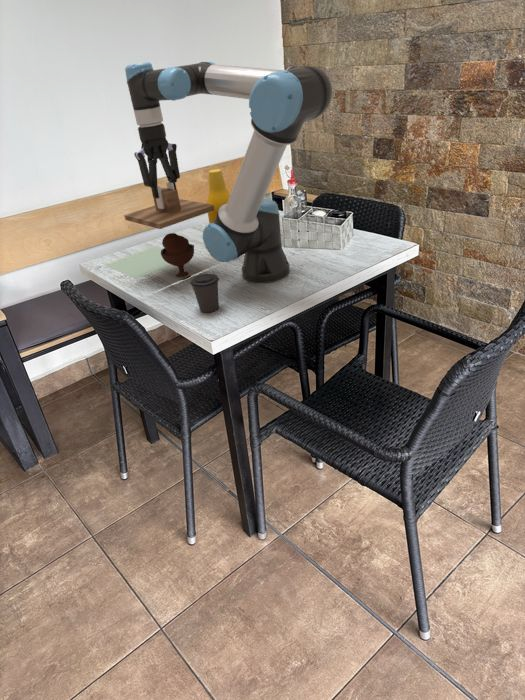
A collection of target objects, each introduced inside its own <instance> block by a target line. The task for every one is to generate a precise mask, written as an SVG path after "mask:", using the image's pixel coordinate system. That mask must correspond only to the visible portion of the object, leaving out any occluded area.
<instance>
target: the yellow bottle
mask: <svg viewBox="0 0 525 700" xmlns="http://www.w3.org/2000/svg"><path fill="white" fill-rule="evenodd" d="M208 185H209V186H208V187H209V190H208V195H207V199H206V204H210V205H214V210H213V211H210V212H207V217H208V224H210V223H213V222H214V221H215V219H216V216H217V214H218V211H219V209H220V207H221V206H222V205H224V204H227V203H228V200H229V197H230V195H231V193H229V191H228V189H227V187H226V184H225V179H224V176H223V172H222V169H220V168H217V169H211V170H209V171H208Z"/></svg>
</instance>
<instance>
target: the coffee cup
mask: <svg viewBox="0 0 525 700" xmlns="http://www.w3.org/2000/svg"><path fill="white" fill-rule="evenodd" d="M219 280H220V277H219V276H218V275H216V274H215V273H202V274H199V275H196V276H194V277H192V278H191V280H190V282H189V284H190V285H191V286H192V289H193V292H194V295H195V297H196V298H195V299H196V302H197V304H198V308H199V312H201V313H202V314H205V315H206V314H213V313H216V312H218V311H219V308H220V302H219V301H220V300H219V298H220V297H219V284H218V283H219Z"/></svg>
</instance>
